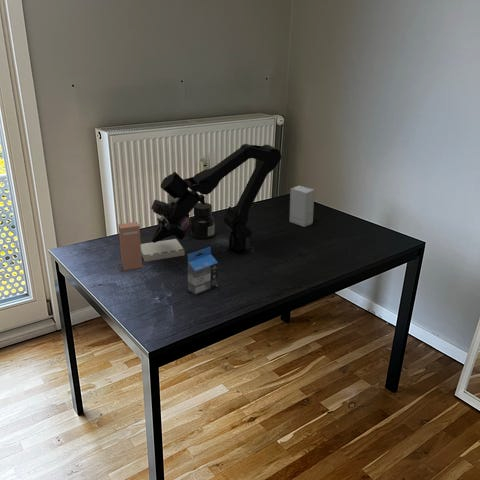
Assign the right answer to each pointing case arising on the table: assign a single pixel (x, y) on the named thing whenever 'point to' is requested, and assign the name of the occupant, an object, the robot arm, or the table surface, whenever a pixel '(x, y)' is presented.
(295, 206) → the skincare box
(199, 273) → the label tape cartridge
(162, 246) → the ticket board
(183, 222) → the candy bar box
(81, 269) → the table surface
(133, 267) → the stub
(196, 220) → the ink bottle
